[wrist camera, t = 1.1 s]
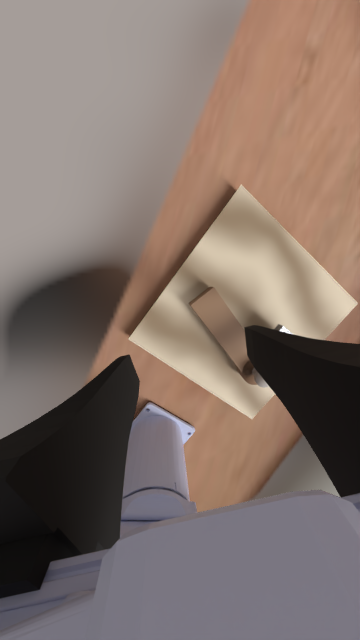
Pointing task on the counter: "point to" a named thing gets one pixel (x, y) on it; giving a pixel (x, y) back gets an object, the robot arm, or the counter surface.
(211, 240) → the board
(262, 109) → the counter surface
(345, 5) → the counter surface
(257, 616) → the robot arm
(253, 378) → the link
